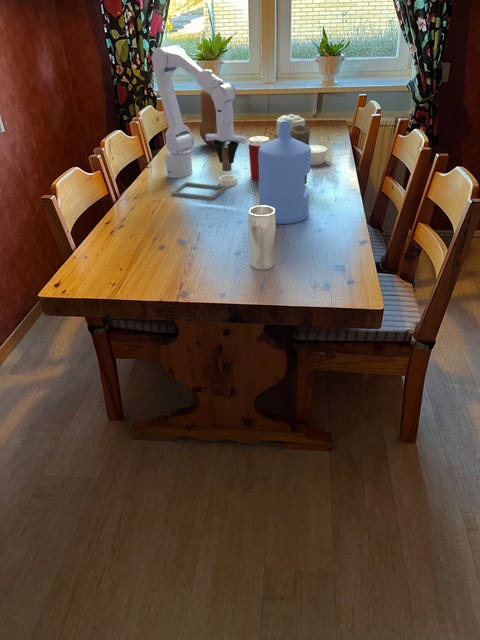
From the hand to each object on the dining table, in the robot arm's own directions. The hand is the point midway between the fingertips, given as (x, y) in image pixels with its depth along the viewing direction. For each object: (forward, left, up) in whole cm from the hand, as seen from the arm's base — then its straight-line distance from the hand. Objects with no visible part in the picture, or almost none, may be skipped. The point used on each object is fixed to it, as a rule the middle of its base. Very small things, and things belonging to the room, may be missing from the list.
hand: (226, 162), depth 177 cm
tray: (-6, -12, -8) cm, 15 cm away
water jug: (+28, -20, -9) cm, 36 cm away
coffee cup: (+9, +9, -9) cm, 15 cm away
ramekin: (+22, +36, -9) cm, 43 cm away
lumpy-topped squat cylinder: (+1, +73, -9) cm, 74 cm away
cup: (0, 0, -8) cm, 8 cm away
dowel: (0, 0, -3) cm, 3 cm away
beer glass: (+33, -53, -9) cm, 63 cm away
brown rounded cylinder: (+24, +7, -9) cm, 26 cm away
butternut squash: (-26, +46, -9) cm, 54 cm away
